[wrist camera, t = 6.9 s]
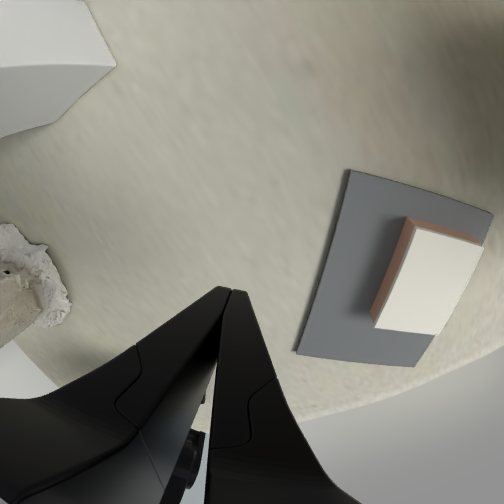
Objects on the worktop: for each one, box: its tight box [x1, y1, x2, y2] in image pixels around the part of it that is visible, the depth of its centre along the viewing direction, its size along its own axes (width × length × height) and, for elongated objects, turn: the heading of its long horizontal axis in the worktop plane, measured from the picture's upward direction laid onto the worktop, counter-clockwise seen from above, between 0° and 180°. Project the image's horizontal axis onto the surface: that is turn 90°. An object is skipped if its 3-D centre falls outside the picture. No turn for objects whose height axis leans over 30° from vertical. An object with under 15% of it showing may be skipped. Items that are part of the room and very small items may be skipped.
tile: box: [370, 216, 484, 335], centre depth 19 cm, size 8×2×6 cm
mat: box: [296, 169, 494, 367], centre depth 21 cm, size 16×12×1 cm
